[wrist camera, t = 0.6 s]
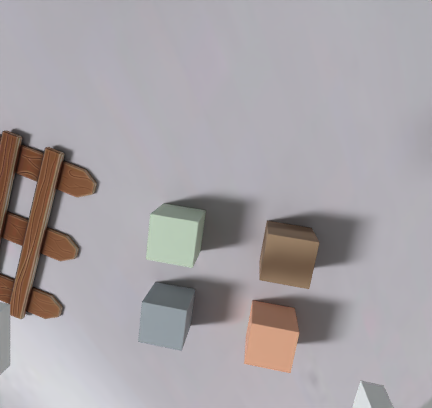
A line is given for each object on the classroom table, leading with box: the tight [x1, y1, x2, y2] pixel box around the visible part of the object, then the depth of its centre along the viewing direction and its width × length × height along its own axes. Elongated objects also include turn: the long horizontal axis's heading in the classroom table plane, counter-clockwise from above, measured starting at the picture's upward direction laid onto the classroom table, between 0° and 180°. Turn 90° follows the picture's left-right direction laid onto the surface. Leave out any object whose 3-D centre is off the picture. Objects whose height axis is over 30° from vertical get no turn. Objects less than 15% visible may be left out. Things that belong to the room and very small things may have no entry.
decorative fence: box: [0, 131, 97, 319], centre depth 42 cm, size 23×2×15 cm
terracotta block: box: [244, 300, 299, 373], centre depth 38 cm, size 5×5×5 cm
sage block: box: [146, 204, 206, 268], centre depth 37 cm, size 5×5×5 cm
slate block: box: [138, 282, 195, 351], centre depth 39 cm, size 5×5×5 cm
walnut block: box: [260, 221, 319, 289], centre depth 36 cm, size 5×5×5 cm
